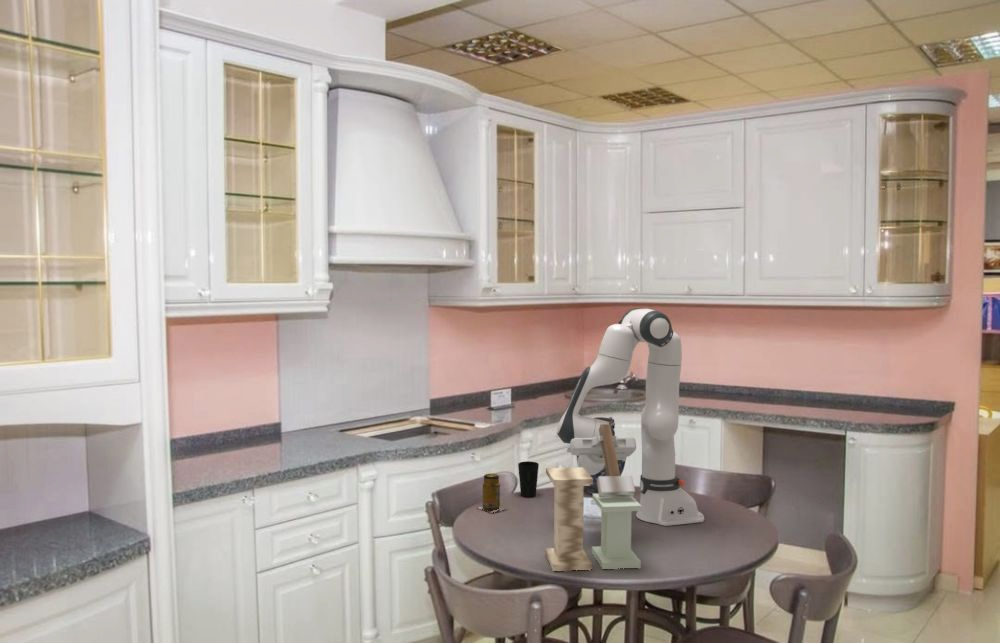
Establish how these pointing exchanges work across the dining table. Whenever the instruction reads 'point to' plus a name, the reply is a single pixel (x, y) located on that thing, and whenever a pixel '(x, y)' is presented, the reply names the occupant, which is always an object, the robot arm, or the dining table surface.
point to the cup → (528, 478)
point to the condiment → (491, 492)
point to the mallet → (612, 470)
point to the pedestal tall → (568, 519)
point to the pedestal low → (616, 532)
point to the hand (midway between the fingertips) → (607, 438)
